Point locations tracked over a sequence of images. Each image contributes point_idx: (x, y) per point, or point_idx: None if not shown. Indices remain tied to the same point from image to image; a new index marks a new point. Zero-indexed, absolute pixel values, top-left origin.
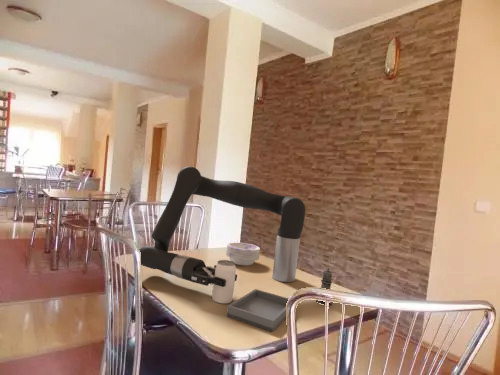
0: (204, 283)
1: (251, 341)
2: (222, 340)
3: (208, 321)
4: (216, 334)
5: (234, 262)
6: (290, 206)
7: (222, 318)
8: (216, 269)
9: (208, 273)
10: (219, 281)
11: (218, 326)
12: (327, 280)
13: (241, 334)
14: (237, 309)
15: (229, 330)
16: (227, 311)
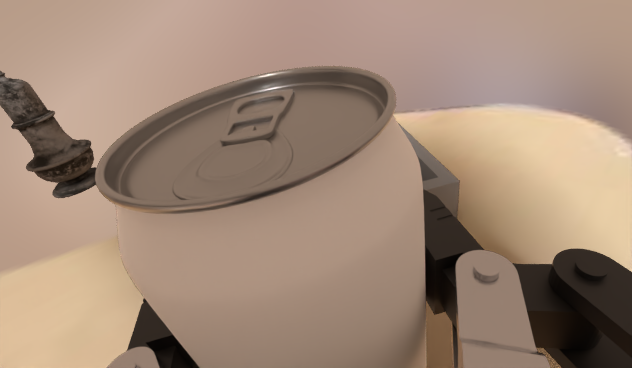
0: (605, 340)
1: (466, 118)
2: (559, 132)
3: (578, 217)
4: (571, 152)
5: (153, 114)
6: None
7: (487, 216)
8: (423, 206)
9: (532, 354)
10: (441, 207)
11: (539, 181)
12: (44, 105)
13: (474, 138)
14: (431, 155)
15: (504, 157)
16: (457, 201)
